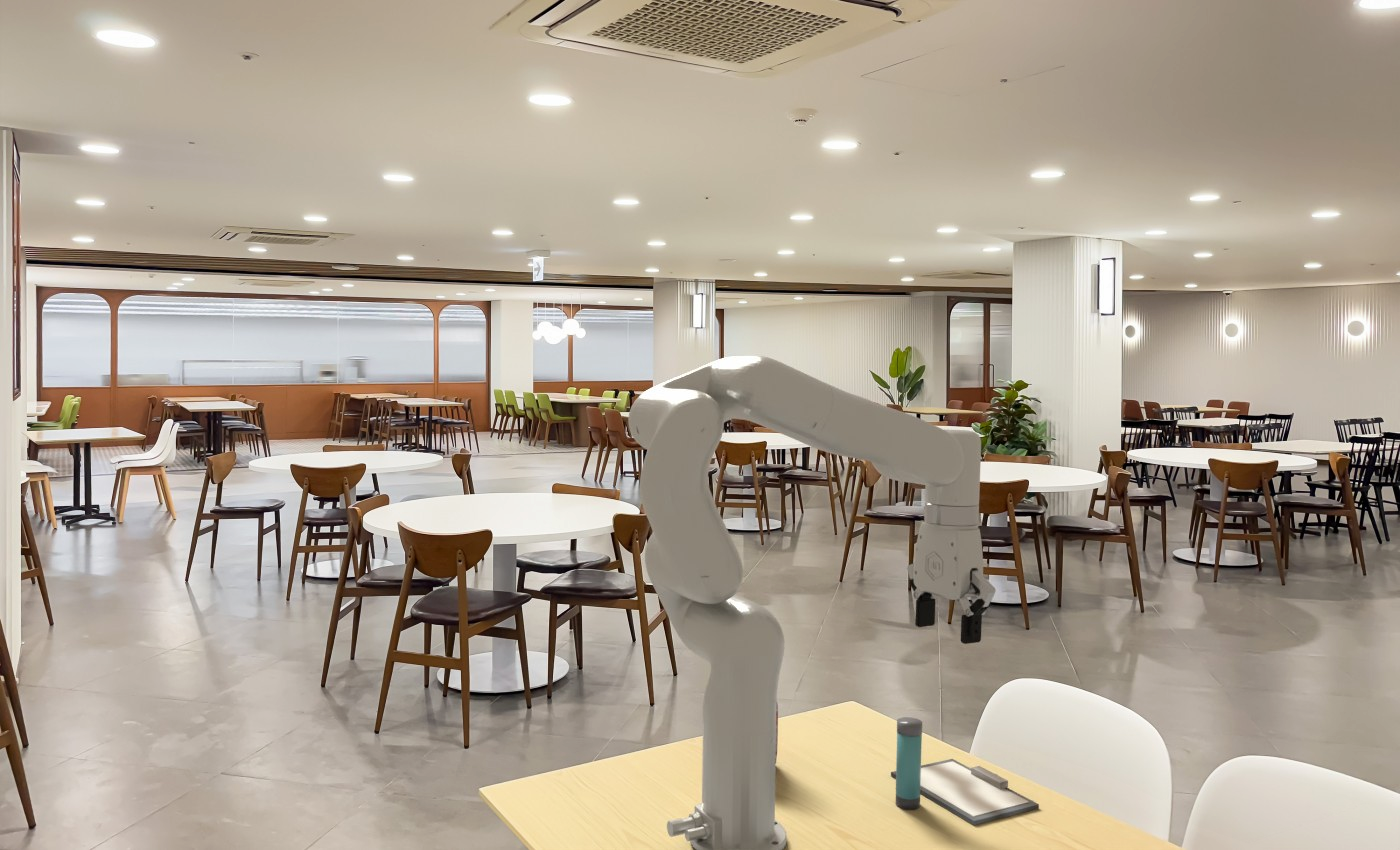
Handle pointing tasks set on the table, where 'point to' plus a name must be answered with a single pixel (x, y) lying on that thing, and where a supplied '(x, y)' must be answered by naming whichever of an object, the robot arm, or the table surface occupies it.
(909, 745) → the marker
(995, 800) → the clipboard
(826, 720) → the table surface
